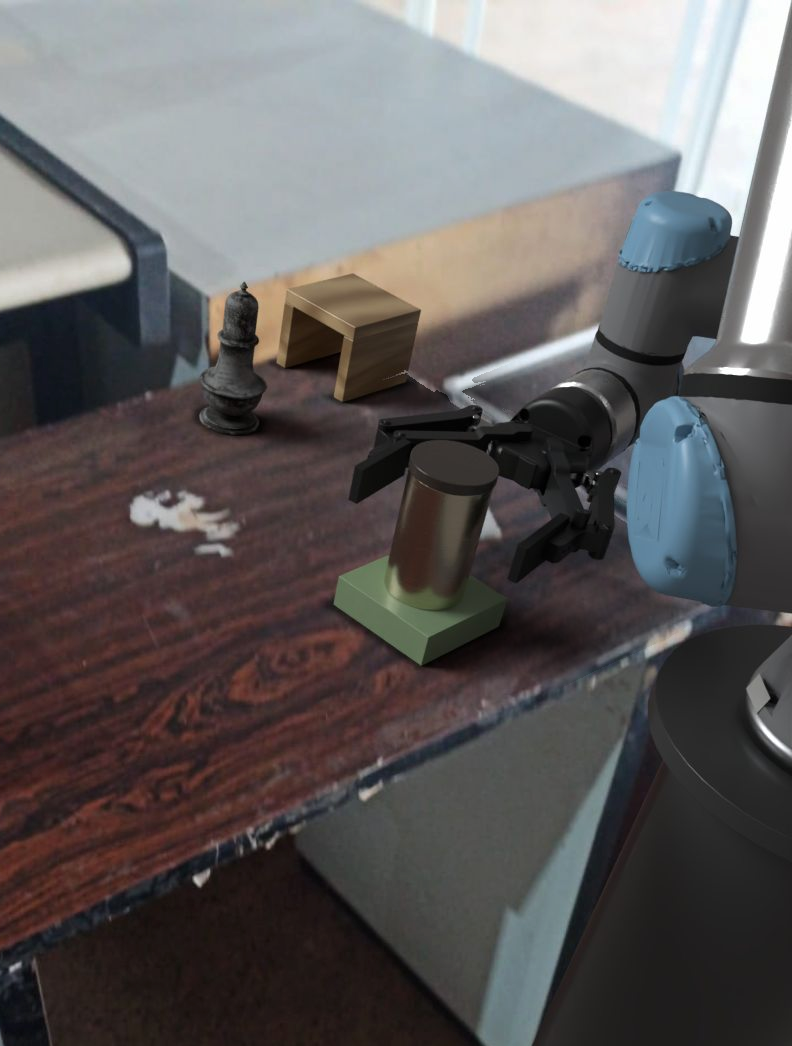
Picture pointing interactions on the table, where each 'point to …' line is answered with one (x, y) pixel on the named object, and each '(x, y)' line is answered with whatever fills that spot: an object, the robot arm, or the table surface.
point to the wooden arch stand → (349, 332)
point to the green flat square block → (417, 614)
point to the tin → (439, 523)
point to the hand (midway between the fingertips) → (434, 523)
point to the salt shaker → (234, 370)
